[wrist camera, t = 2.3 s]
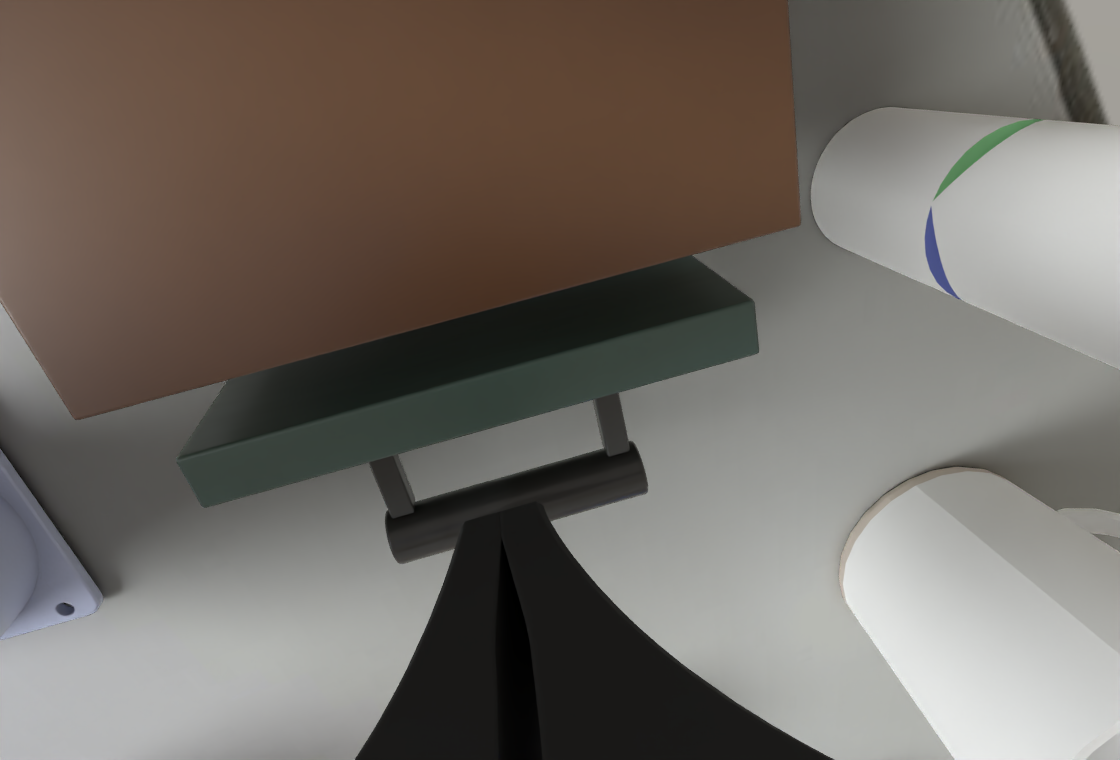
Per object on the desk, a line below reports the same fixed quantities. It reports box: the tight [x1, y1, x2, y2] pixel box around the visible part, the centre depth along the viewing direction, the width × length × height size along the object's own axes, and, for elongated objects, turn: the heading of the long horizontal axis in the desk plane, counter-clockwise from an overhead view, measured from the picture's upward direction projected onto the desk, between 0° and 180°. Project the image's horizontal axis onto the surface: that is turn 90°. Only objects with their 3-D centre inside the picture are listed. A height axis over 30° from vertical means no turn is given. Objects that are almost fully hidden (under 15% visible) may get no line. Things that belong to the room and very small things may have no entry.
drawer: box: [176, 255, 759, 564], centre depth 15 cm, size 17×11×7 cm
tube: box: [811, 107, 1120, 370], centre depth 14 cm, size 4×4×15 cm
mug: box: [839, 467, 1120, 760], centre depth 23 cm, size 11×9×10 cm
